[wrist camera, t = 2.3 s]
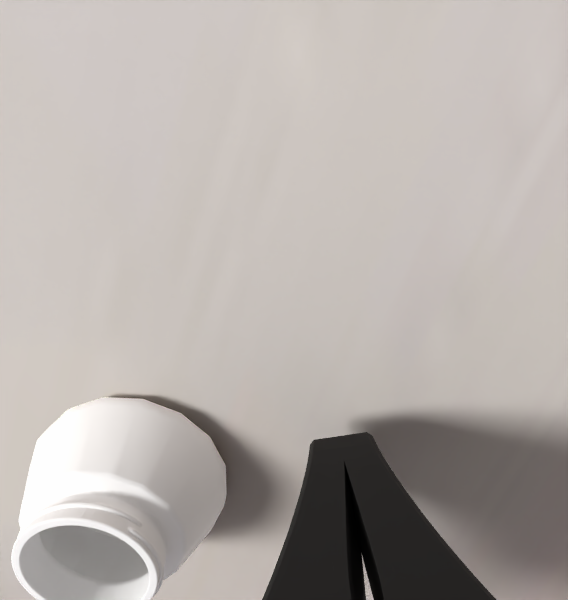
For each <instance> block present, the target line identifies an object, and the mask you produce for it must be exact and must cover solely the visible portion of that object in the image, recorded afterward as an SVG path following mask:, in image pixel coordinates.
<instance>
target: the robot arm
mask: <svg viewBox="0 0 568 600" xmlns="http://www.w3.org/2000/svg"><path fill="white" fill-rule="evenodd" d="M361 552H362V554H361ZM362 556H363V560H364V564H365V568H366V571H367V575H368V579H369V583H370V587H371V591H372V594H373V598H374V600H496V599H495V598H494V597H493V596H492V595H491V593H490V592H489V591H488V590H487V589H486V588H485V587H484V586H483V585H482V584H481V583H480V582H479V580H478V579H477V578H476V577H475V576H474V575H473V574H472V573H471V571H470V570H469V569H468V568H467V567H466V566H465V564H464V563H463V562H462V561H461V560H460V559H459V558H458V556H457V555H456V554H455V553H454V552H453V550H452V549H451V548H450V547H449V546H448V544H447V543H446V542H445V541H444V540H443V538H442V537H441V536H440V535H439V534H438V532H437V531H436V530H435V529H434V527H433V526H432V525H431V524H430V522H429V521H428V520H427V518H426V517H425V516H424V515H423V513H422V512H421V511H420V509H419V508H418V507H417V505H416V504H415V503H414V501H413V500H412V499H411V497H410V496H409V494H408V493H407V492H406V490H405V489H404V488H403V486H402V485H401V483H400V482H399V480H398V479H397V478H396V476H395V474H394V473H393V471H392V470H391V468H390V467H389V465H388V464H387V462H386V461H385V459H384V457H383V456H382V454H381V452H380V450H379V449H378V447H377V445H376V443H375V441H374V439H373V436H372V435H370V434H369V433H367V432H365V433H358V434H351V435H345V436H338V437H331V438H324V439H318V440H314V441H313V442H312V443H311V444H310V450H309V457H308V463H307V468H306V472H305V477H304V481H303V485H302V488H301V492H300V496H299V499H298V502H297V506H296V509H295V512H294V516H293V519H292V522H291V525H290V528H289V531H288V534H287V537H286V540H285V542H284V545H283V548H282V550H281V553H280V556H279V559H278V561H277V564H276V567H275V569H274V572H273V575H272V577H271V580H270V582H269V585H268V587H267V589H266V592H265V594H264V597H263V599H262V600H366V596H365V585H364V575H363V564H362Z"/></svg>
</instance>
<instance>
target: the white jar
mask: <svg viewBox="0 0 568 600" xmlns="http://www.w3.org/2000/svg"><path fill="white" fill-rule="evenodd" d="M226 495H227V487H226V465H225V463H224V462H223V460H222V458H221V456H220V454H219V452H218V451H217V449H216V447H215V445H214V443H213V441H212V440H211V438H210V436H208V435H207V434H206V433H205V432H203V431H202V430H201V429H200V428H199V427H197V426H196V425H195V424H194V423H192V422H191V421H190V420H189V419H188V418H186V417H185V416H184V415H183V414H181V413H180V412H177V411H174V410H172V409H169V408H166V407H164V406H161V405H158V404H156V403H153V402H150V401H147V400H145V399H137V398H110V397H102V398H99V399H96V400H93V401H90V402H87V403H84V404H81V405H78V406H75V407H72V408H69V409H68V410H66V411H65V412H64V413H63V414H62V415H61V416H60V417H59V418H58V419H57V420H56V421H55V422H54V423H53V424H52V425H51V426H50V427H49V428H48V429H47V430H46V431H45V432H44V433H43V434H42V435H41V436H40V437H39V439H38V440H37V442H36V446H35V450H34V453H33V457H32V461H31V465H30V469H29V473H28V478H27V482H26V487H25V492H24V496H23V501H22V506H21V510H20V515H19V520H18V521H19V525H20V528H21V530H20V532H19V534H18V537H17V540H16V542H15V544H14V546H13V549H12V555H11V561H12V567H13V570H14V573H15V575H16V577H17V579H18V580H19V582H20V583H21V585H22V586H23V587H24V588H25V589H26V590H27V591H28V592H29V593H30V594H31V595H32V596H33V597H34V598H36V599H37V600H151V599H152V598H153V596H154V595H155V594H156V593H157V592H158V590H159V588H160V586H161V584H162V581H163V580H165V579H166V578H168V577H169V576H170V575H172V574H173V573H175V572H176V571H177V570H178V569H179V568H180V567H181V565H182V564H183V563H184V562H185V561H186V559H187V558H188V557H189V556H190V555H191V554H192V552H193V551H194V550H195V549H196V548H197V546H198V545H199V544H200V543H201V542H202V541H203V539H204V538H205V537H206V536H207V535H208V534H209V532H210V531H211V530H212V528H213V526H214V524H215V522H216V521H217V519H218V517H219V515H220V513H221V511H222V509H223V507H224V505H225V500H226Z"/></svg>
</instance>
